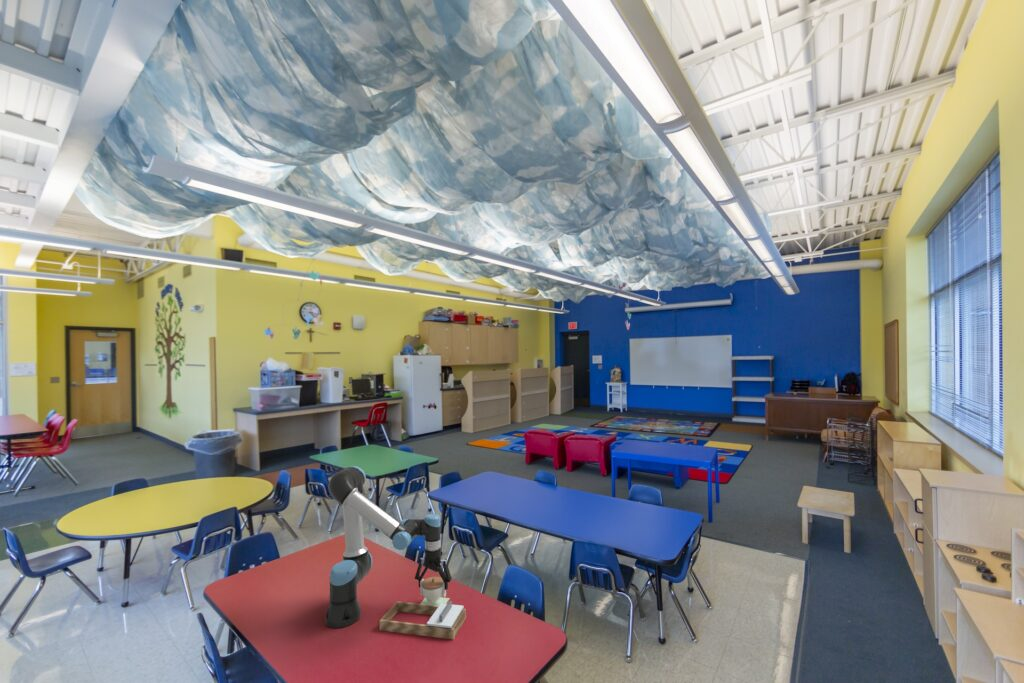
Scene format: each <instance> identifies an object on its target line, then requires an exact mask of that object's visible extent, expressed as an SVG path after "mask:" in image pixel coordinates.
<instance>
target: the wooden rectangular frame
mask: <svg viewBox="0 0 1024 683" xmlns="http://www.w3.org/2000/svg"><path fill="white" fill-rule="evenodd" d="M438 607H439V606H437V605H427V604H420V603H417V602H408V601H399V600H397V601H396V602H395V603H394V604H393V605H392V606H391V607H390V609H388V611H387V612H385V614H384V615H383V616H382V617H381V619H380V620H379V631H382V632H383V631H384V632H391V633H399V634H406V635H416V636H423V637H432V638H439V639H447V640H455V638H456V636H457V634H458V633H459V631H460V629H461V627H462V625H463V624H464V622H465V620H466V619H467V611H466V610H467V609H466V608H463V610H462V611H461V613H460V615H459V616H458V618H457V620H456V621H455V623H454V625H453V626H452V628H444V627H436V626H428V625H427V624H425V623H424V624H423V623H415V622H408V621H407V622H406V621H396V620H392V619H393V618H394V616H396V614H397V613H398V612H399V613H400V612H402V613H410V614H417V615H427V616H432V615H433V614H434V612H435V611H436V610H437V608H438Z"/></svg>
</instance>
